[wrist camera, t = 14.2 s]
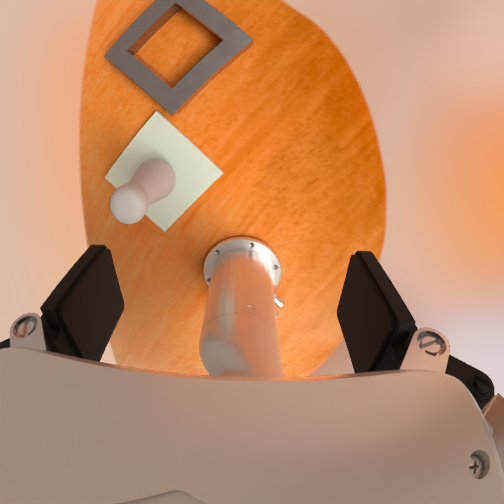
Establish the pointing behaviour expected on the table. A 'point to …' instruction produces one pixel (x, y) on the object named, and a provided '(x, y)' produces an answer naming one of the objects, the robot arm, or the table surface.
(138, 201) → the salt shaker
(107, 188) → the table surface
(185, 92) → the grey square frame
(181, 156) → the mat
